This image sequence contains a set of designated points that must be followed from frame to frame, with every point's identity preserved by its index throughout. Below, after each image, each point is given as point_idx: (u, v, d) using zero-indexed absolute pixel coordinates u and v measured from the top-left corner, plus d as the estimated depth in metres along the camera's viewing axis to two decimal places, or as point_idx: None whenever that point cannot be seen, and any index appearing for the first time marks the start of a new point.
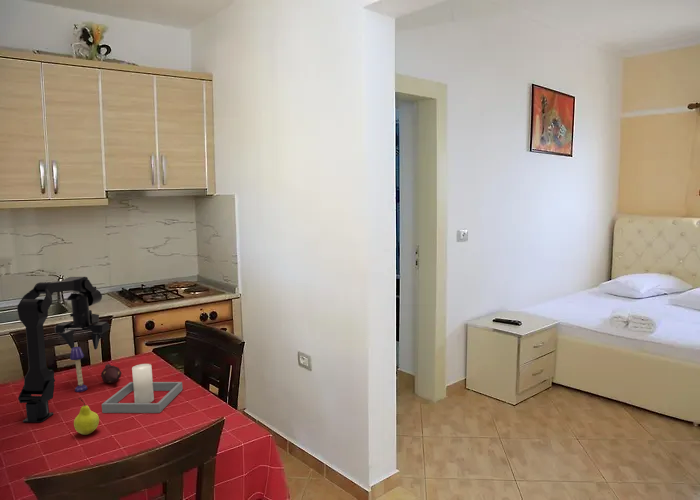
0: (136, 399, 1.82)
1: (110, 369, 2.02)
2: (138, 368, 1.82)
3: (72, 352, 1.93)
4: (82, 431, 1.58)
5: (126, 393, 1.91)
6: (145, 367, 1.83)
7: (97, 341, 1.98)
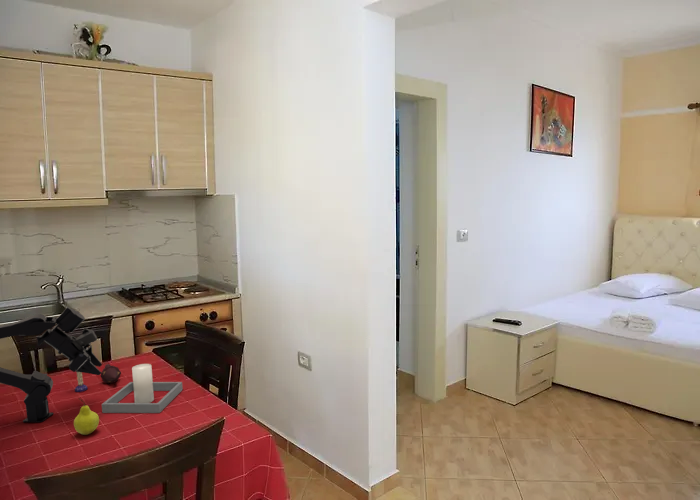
0: (136, 399, 1.82)
1: (110, 369, 2.02)
2: (138, 368, 1.82)
3: None
4: (82, 431, 1.58)
5: (126, 393, 1.91)
6: (145, 367, 1.83)
7: (91, 370, 1.73)
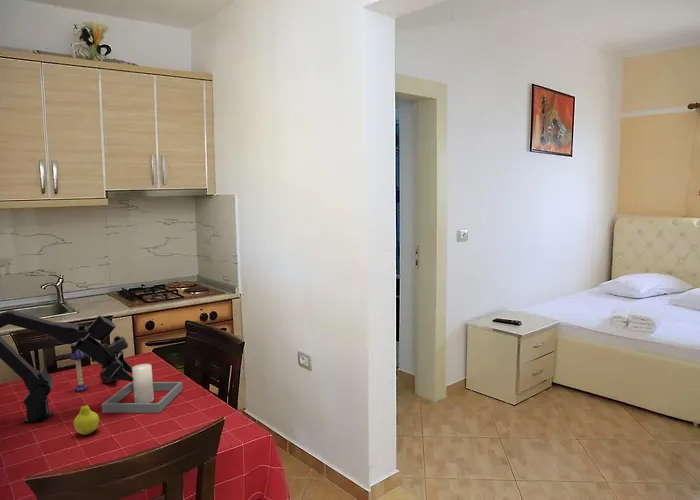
0: (136, 399, 1.82)
1: None
2: (138, 368, 1.82)
3: None
4: (82, 431, 1.58)
5: (126, 393, 1.91)
6: (145, 367, 1.83)
7: (124, 376, 1.77)
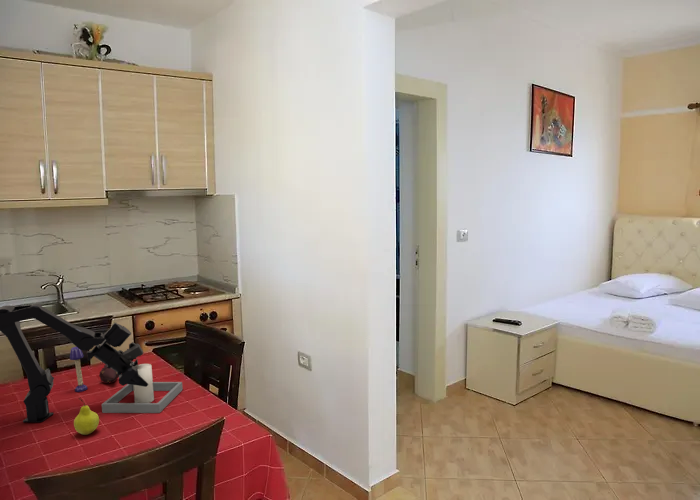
0: (136, 399, 1.82)
1: (108, 369, 2.03)
2: (138, 368, 1.82)
3: (72, 352, 1.93)
4: (82, 431, 1.58)
5: (126, 393, 1.91)
6: (145, 367, 1.83)
7: (139, 382, 1.80)
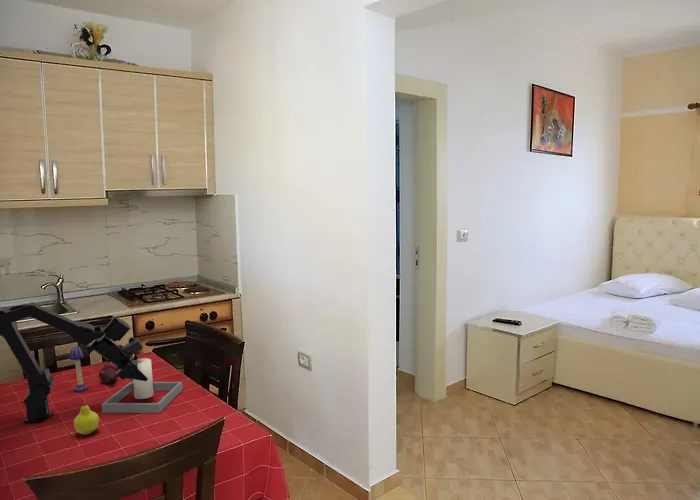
0: (136, 393, 1.82)
1: (108, 369, 2.03)
2: (138, 362, 1.82)
3: (72, 352, 1.93)
4: (82, 431, 1.58)
5: (126, 393, 1.91)
6: (145, 361, 1.83)
7: (139, 376, 1.80)
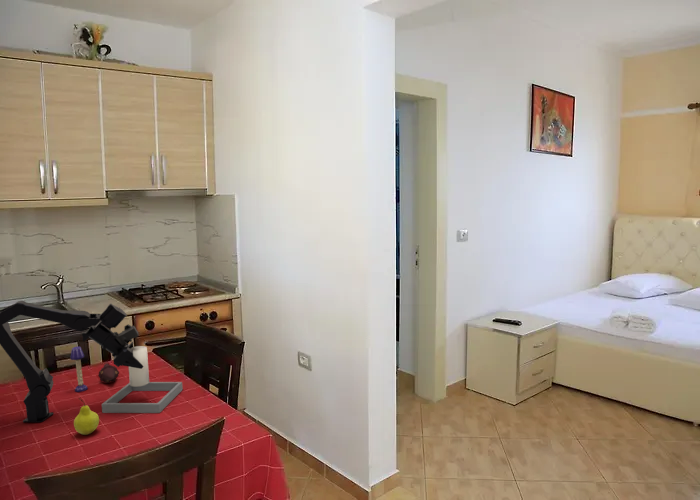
0: (131, 381, 1.81)
1: (107, 369, 2.03)
2: (134, 350, 1.81)
3: (72, 352, 1.93)
4: (82, 431, 1.58)
5: (126, 393, 1.91)
6: (140, 349, 1.82)
7: (134, 363, 1.79)
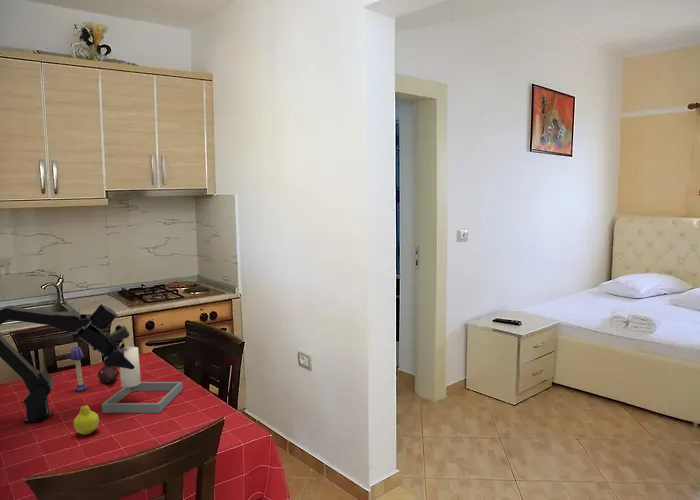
0: (122, 382, 1.80)
1: (107, 368, 2.03)
2: (125, 350, 1.80)
3: (72, 352, 1.93)
4: (82, 431, 1.58)
5: (126, 393, 1.91)
6: (132, 349, 1.81)
7: (125, 364, 1.78)
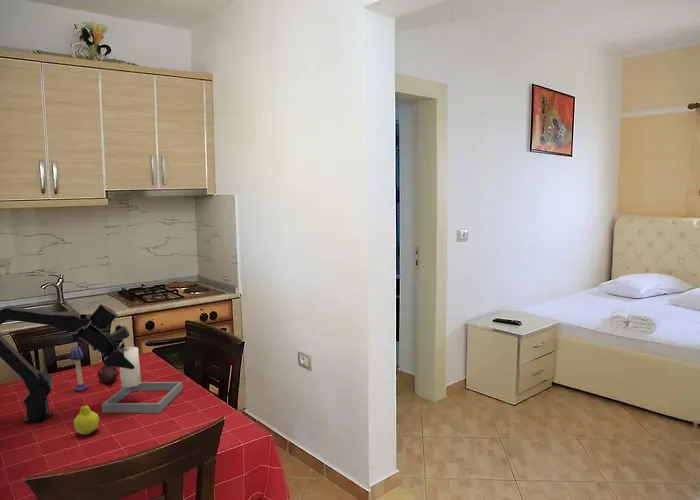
0: (122, 382, 1.80)
1: (107, 368, 2.03)
2: (125, 350, 1.80)
3: (72, 352, 1.93)
4: (82, 431, 1.58)
5: (126, 393, 1.91)
6: (132, 349, 1.81)
7: (125, 364, 1.78)
